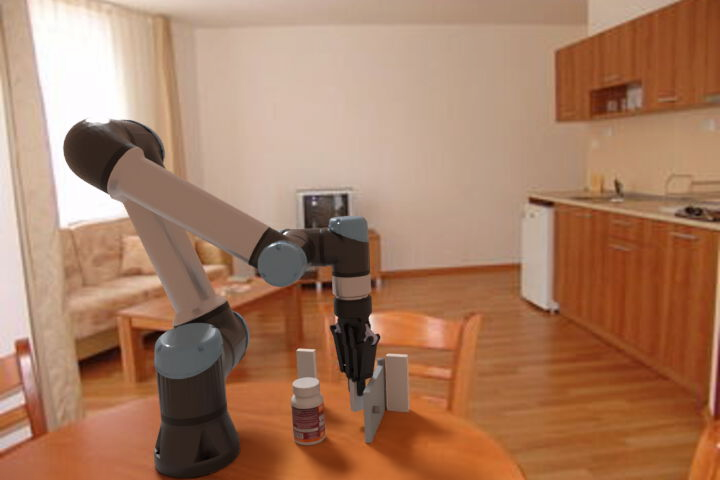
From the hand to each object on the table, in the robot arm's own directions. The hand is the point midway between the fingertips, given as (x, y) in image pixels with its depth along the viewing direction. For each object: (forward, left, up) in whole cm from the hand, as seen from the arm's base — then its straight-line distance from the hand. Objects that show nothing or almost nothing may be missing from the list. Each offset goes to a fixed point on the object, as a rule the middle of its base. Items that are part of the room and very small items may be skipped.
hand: (358, 408), depth 114 cm
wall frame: (-3, +7, -3) cm, 8 cm away
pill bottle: (-7, -8, -3) cm, 12 cm away
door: (+4, 0, -3) cm, 5 cm away
